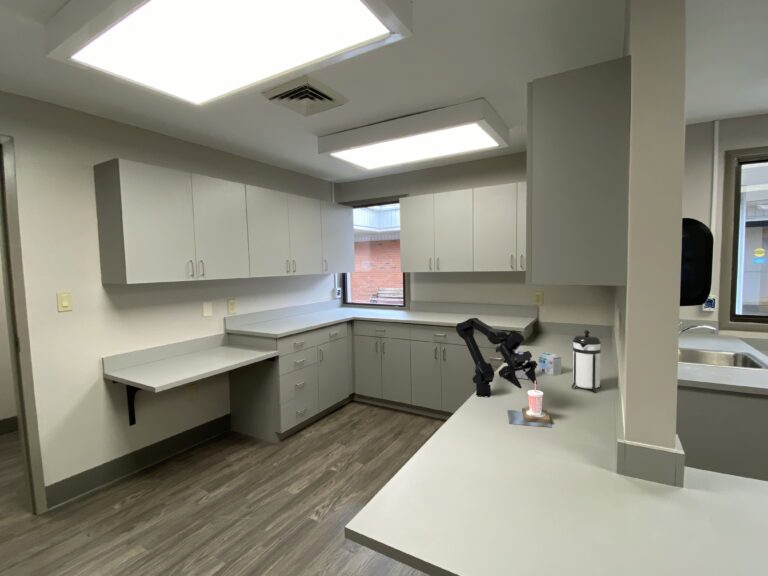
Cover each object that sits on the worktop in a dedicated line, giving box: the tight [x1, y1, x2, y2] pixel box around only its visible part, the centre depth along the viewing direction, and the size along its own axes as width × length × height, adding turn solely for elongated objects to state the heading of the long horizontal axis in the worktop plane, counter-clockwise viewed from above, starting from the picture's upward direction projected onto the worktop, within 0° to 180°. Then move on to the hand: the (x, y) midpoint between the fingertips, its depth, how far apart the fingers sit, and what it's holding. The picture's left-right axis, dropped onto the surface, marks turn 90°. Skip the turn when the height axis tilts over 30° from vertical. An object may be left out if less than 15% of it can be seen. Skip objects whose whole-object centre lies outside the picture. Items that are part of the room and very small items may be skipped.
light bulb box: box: [538, 351, 562, 377], centre depth 217 cm, size 11×7×11 cm, turn 25°
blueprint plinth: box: [507, 407, 552, 429], centre depth 157 cm, size 16×14×2 cm
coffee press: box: [571, 329, 602, 394], centre depth 191 cm, size 17×16×30 cm
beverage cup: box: [527, 379, 544, 415], centre depth 156 cm, size 6×6×14 cm
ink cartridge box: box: [515, 350, 531, 380], centre depth 210 cm, size 10×6×14 cm, turn 53°
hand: (528, 386), depth 159 cm, fingers open, 9 cm apart
